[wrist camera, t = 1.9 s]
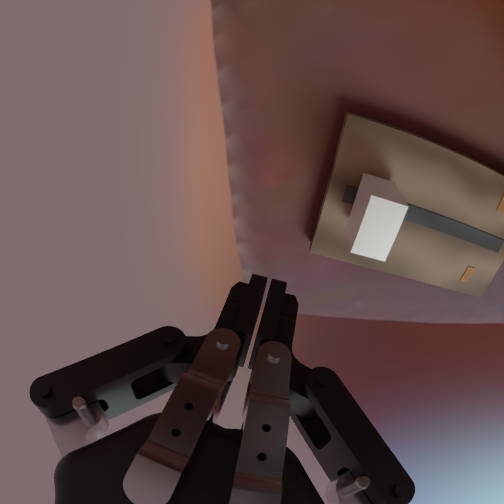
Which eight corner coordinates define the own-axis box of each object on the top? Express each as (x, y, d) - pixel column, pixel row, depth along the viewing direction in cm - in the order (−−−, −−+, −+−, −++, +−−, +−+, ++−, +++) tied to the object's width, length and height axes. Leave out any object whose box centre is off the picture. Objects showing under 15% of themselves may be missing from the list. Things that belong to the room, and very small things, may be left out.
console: (346, 111, 24) (348, 114, 22) (526, 187, 22) (535, 195, 20) (310, 242, 32) (309, 253, 30) (475, 287, 30) (480, 298, 28)
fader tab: (363, 172, 24) (371, 195, 20) (395, 182, 24) (408, 206, 20) (347, 222, 27) (350, 252, 23) (377, 230, 27) (384, 261, 23)
